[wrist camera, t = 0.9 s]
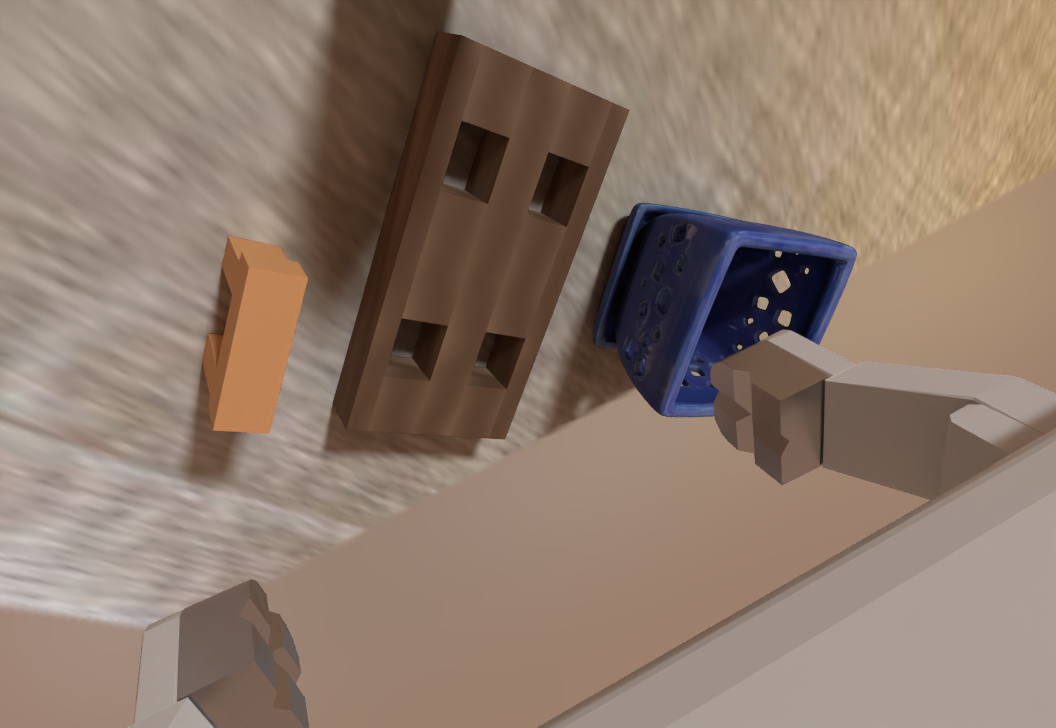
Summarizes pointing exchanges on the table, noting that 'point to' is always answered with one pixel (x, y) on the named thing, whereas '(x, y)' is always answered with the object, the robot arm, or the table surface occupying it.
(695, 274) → the flower pot
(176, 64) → the table surface
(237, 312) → the tan two-pronged block
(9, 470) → the table surface
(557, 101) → the block with square holes
